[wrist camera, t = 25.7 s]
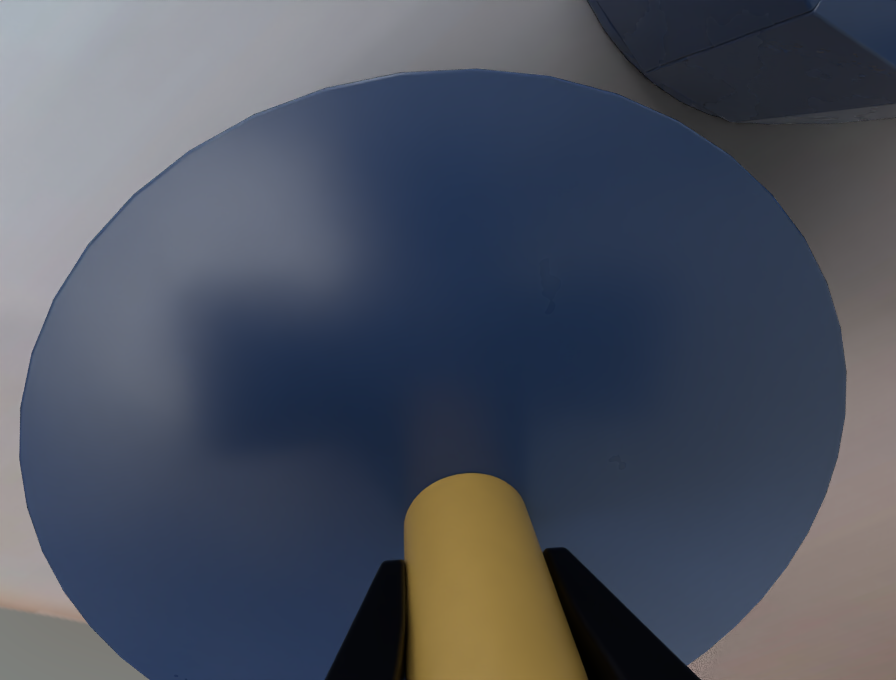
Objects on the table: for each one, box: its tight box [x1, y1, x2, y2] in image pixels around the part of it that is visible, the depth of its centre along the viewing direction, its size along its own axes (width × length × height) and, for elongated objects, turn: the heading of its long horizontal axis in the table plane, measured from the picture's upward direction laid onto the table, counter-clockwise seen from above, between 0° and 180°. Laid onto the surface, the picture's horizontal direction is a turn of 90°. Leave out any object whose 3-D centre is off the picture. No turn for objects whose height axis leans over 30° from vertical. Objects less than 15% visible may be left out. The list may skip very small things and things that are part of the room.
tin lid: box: [19, 69, 846, 680], centre depth 8 cm, size 17×17×5 cm
